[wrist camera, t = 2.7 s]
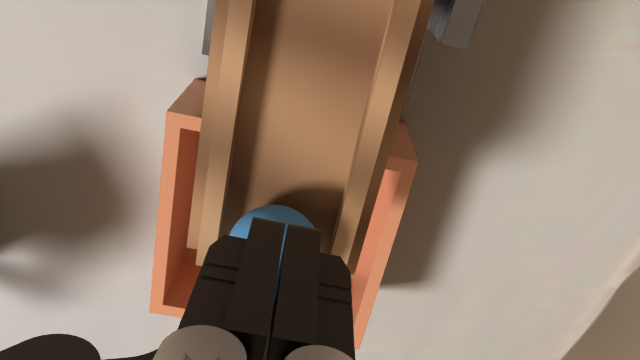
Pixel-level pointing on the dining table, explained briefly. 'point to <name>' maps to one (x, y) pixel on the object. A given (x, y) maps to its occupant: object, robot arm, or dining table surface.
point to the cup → (176, 199)
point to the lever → (302, 113)
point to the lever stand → (444, 23)
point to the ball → (270, 213)
